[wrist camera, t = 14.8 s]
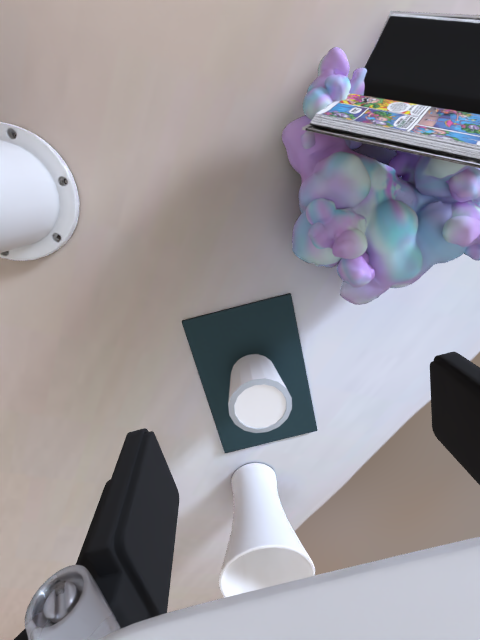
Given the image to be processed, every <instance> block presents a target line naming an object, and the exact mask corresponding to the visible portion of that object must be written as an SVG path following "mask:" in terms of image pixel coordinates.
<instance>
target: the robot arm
mask: <svg viewBox="0 0 480 640" xmlns="http://www.w3.org/2000/svg"><path fill="white" fill-rule="evenodd" d="M15 133H16V134H17V136H16V138H15V136H14V134H15ZM65 179H67V182H68V183H67V184H65V183H64V180H65ZM78 217H79V196H78V190H77V187H76V184H75V181H74V178H73V175H72V174H71V172H70V170H69V168H68V166H67V164H66V163H65V162H64V160H63V159H62V158H61V156H60V155H59V154H58V152H57V151H56V150H54V149H53V148H52V147H51V146H50V145H49V144H48V143H47V142H46V141H44V140H43V139H41V138H40V137H39V136H37V135H36V134H34V133H32V132H30V131H28V130H26V129H23V128H21V127H19V126H16V125H13V124H9V123H3V122H0V258H4V259H9V260H14V261H29V260H35V259H40V258H43V257H45V256H48V255H50V254H52V253H54V252H56V251H57V250H59V249H60V248H61V247H62V246H64V245H65V244H66V242H67V241H68V240H69V239H70V237H71V236H72V234H73V232H74V230H75V228H76V225H77V221H78ZM58 235H60V236H61V239H59V238H58ZM8 251H9V252H8ZM430 382H431V407H432V428H433V431H434V434H435V436H436V437H437V439H438V440H439V441H440V442H441V443H442V444H443V445H444V446H445V447H446V449H447V450H448V451H449V452H450V453H451V454H452V455H453V456H454V457H455V458H456V459H457V461H458V462H459V463H460V464H461V465H462V466H463V467H464V468H465V469H466V470H467V472H468V473H469V474H470V475H471V476H472V477H473V478H474V479H475V480H476V481H477V483H478V484H479V485H480V368H479V367H478V366H476V365H475V364H473V363H472V362H470V361H469V360H467V359H466V358H464V357H463V356H461V355H460V354H458V353H456V352H450V353H446V354H442V355H438V356H436V357H435V358H434V361H433V362H431V363H430ZM178 507H179V493H178V489H177V487H176V484H175V482H174V480H173V477H172V475H171V472H170V470H169V468H168V465H167V463H166V460H165V458H164V455H163V453H162V451H161V448H160V446H159V443H158V441H157V439H156V436H155V434H154V432H152V431H151V432H148V430H147V429H141V430H137V431H133V432H129V433H128V434H127V436H126V439H125V442H124V444H123V447H122V450H121V453H120V456H119V459H118V461H117V464H116V467H115V470H114V473H113V475H112V478H111V480H109V481H108V482H107V483H106V485H105V487H104V490H103V493H102V495H101V498H100V501H99V503H98V506H97V509H96V511H95V514H94V517H93V520H92V522H91V525H90V528H89V530H88V533H87V536H86V539H85V541H84V544H83V547H82V549H81V552H80V555H79V557H78V560H77V563H76V565H72V566H68V567H66V568H64V569H61V570H59V571H58V572H56V573H55V574H54V575H52V576H51V577H50V578H49V579H48V580H47V581H46V582H45V583H44V584H43V585H42V586H41V587H40V588H39V589H38V591H37V592H36V593H35V595H34V596H33V598H32V600H31V602H30V604H29V606H28V608H27V612H26V616H25V629H24V630H23V631H22V632H21V633H20V634H19V635H18V636H17V637H16V638H15V639H14V640H480V537H476V538H471V539H467V540H463V541H458V542H454V543H450V544H446V545H441V546H437V547H433V548H428V549H424V550H420V551H416V552H411V553H407V554H404V555H399V556H394V557H390V558H386V559H382V560H378V561H373V562H370V563H365V564H361V565H357V566H353V567H348V568H344V569H340V570H336V571H332V572H328V573H324V574H319V575H315V576H311V577H307V578H303V579H299V580H295V581H290V582H286V583H282V584H278V585H274V586H270V587H266V588H262V589H258V590H254V591H250V592H246V593H242V594H238V595H233V596H229V597H225V598H221V599H217V600H214V601H210V602H206V603H202V604H199V605H195V606H191V607H187V608H184V609H180V610H176V611H172V612H169V613H167V606H168V597H169V588H170V579H171V570H172V561H173V552H174V543H175V534H176V525H177V516H178Z"/></svg>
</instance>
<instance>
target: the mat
mask: <svg viewBox="0 0 480 640" xmlns="http://www.w3.org/2000/svg"><path fill="white" fill-rule="evenodd" d="M182 324H183V327H184V330H185V333H186V336H187V339H188V342H189V345H190V348H191V351H192V354H193V357H194V360H195V364H196V367H197V370H198V373H199V376H200V379H201V382H202V385H203V388H204V391H205V394H206V397H207V400H208V403H209V406H210V409H211V412H212V415H213V418H214V421H215V424H216V427H217V430H218V433H219V437H220V440H221V443H222V446H223V449H224V452H225V453H228V452H232V451H236V450H240V449H245V448H249V447H253V446H257V445H261V444H265V443H269V442H273V441H277V440H281V439H285V438H289V437H293V436H297V435H301V434H305V433H309V432H314V431H317V426H316V421H315V416H314V411H313V406H312V401H311V396H310V390H309V385H308V380H307V375H306V370H305V365H304V359H303V354H302V349H301V344H300V339H299V334H298V328H297V323H296V318H295V313H294V308H293V303H292V297H291V294H286V295H282V296H278V297H274V298H270V299H266V300H262V301H258V302H254V303H250V304H246V305H242V306H238V307H234V308H230V309H226V310H222V311H219V312H215V313H211V314H207V315H203V316H199V317H195V318H191V319H187V320H183V321H182ZM251 354H259V355H262V356H265V357H267V358H268V359H269V360H270V361H272V363H273V365H274V367H275V368H276V370H277V372H278V374H279V376H280V377H281V379H282V381H283V383H284V384H285V386H286V388H287V390H288V392H289V394H290V396H291V398H292V410H291V412H290V414H289V416H288V419H287V420H286V421H285V422H284V423H283V424H281V425H280V426H279V427H278V428H275V429H273V430H271V431H269V432H262V433H253V432H249V431H244V430H243V429H241V428H240V427H238V426H237V425H235V424H234V422H233V420H232V419H231V417H230V415H229V407H228V402H229V390H230V378H231V371H232V368H233V366H234V364H235V363H236V362H237V361H238V360H239V359H240V358H242V357H244V356H246V355H251Z"/></svg>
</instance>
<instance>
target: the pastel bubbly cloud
mask: <svg viewBox="0 0 480 640" xmlns="http://www.w3.org/2000/svg"><path fill="white" fill-rule="evenodd" d="M348 73H349V63H348V61H347V57H346V55H345V53H344V51H343V50H341V49H340V48H338V47H334V48H332V49H331V50H330V51H329V52H328V54H327V55H325V56H324V57H323V59H322V60H321V62H320V64H319V67H318V77H317V78H316V79H315V80H314V81H313V82H312V84H311V85H310V86H309V88H308V90H307V94H306V96H305V98H304V101H303V110H304V114H305V116H302V117H300V118H298V119H296V120H294V121H292V122H290V123H289V124H288V125H287V126H286V127H285V129H284V130H283V133H282V140H283V143H284V145H285V147H286V150H287V155H288V159H289V162H290V164H291V165H292V167H293V168H294V169H295V170H296V171H297V172H298V173H299V174H300V175H301V179H302V183H301V187H300V190H299V194H298V196H299V201H300V202H299V206H300V211H301V212H302V214H301V215H300V216H299V218H298V219H297V221H296V223H295V225H294V227H293V235H292V243H293V248H292V251H293V252H294V254H295V255H296V256H297V257H299V258H300V259H302V260H303V261H305V262H307V263H314V264H315V265H316V266H325V267H333V266H335V265H337V264H338V266H337V272H338V275H339V277H340V278H341V279H342V280H343V283H342V286H341V289H340V295H341V296H342V297H343V298H344V299H345V300H347V301H349V302H351V303H353V304H359V305H360V304H366V303H368V302H371V301H372V300H374V299H376V298H378V297H379V296H380V295H381V294H382V293H384V292H385V291H387V290H388V289H389V288H400V287H405V286H407V285H410V284H412V283H414V282H415V281H416V280H418V279H419V278H420V277H421V276H422V275H423V274H424V273H425V272H426V271H428V270H429V269H430V268H431V267H432V266H433V265H434V264H437V263H445V262H448V261H451V260H453V259H455V258H457V257H459V256H461V255H462V254H463V253H464V254H466V255H468V256H470V257H471V258H472V259H474V260H480V15H462V14H442V13H421V12H401V11H391V12H390V14H389V17H388V19H387V21H386V23H385V25H384V28H383V30H382V32H381V34H380V36H379V39H378V41H377V43H376V45H375V47H374V49H373V51H372V53H371V55H370V57H369V59H368V61H367V63H366V65H365V67H364V68H358V69H356V70H355V71H354V72H353V77H352V79H351V81H349V78H348V77H347V75H348ZM362 143H365V144H370V145H375V146H379V147H384V148H386V149H389V150H396V156H395V157H393V158H392V159H391V160H390V162H389V164H388V165H385V164H383V163H380V162H378V161H377V160H376V159H374V158H370V157H367V156H365V155H363V154H360V153H356V152H354V151H353V150H354V149H357V148H359V147H360V146H361V145H362ZM401 176H402V179H401V178H399V177H401Z"/></svg>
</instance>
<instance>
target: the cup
mask: <svg viewBox="0 0 480 640" xmlns="http://www.w3.org/2000/svg"><path fill="white" fill-rule="evenodd" d="M231 485H232V490H233V496H234V515H233V523H232V531H231V535H230V538H229V542H228V546H227V550H226V554H225V558H224V562H223V565H222V569H221V573H220V576H219V588H220V590H221V592H222V594H223V596H224V597H229V596H233V595H238V594H242V593H246V592H250V591H254V590H258V589H262V588H266V587H270V586H274V585H278V584H282V583H286V582H290V581H295V580H299V579H303V578H307V577H311V576H315V568H314V565H313V562H312V560H311V559H310V557H309V555H308V554H307V552H306V551H305V549H304V547H303V546H302V544H301V542H300V541H299V539H298V537H297V535H296V534H295V532H294V530H293V529H292V527H291V525H290V523H289V522H288V520H287V518H286V515H285V513H284V510H283V508H282V506H281V502H280V499H279V495H278V492H277V482H276V475H275V472H274V471H273V470H272V468H270V467H269V466H267V465H264V464H261V463H250V464H246V465H244V466H242V467H240V468H239V469H238V470H236V471H235V473H234V474H233V476H232V479H231Z"/></svg>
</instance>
